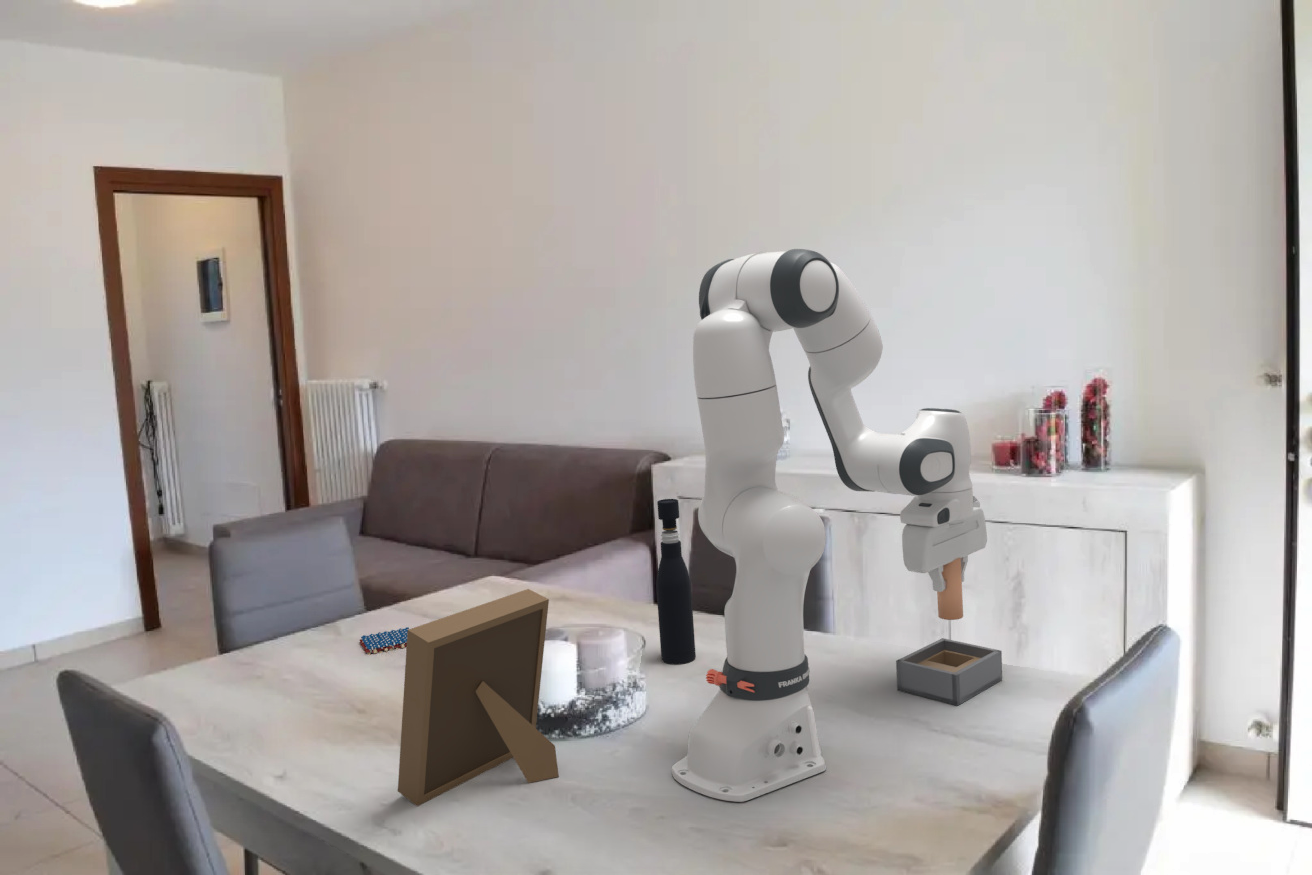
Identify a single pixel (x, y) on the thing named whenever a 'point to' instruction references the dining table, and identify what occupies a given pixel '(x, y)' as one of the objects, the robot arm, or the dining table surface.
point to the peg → (951, 592)
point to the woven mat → (384, 641)
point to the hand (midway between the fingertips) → (948, 586)
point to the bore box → (949, 671)
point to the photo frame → (474, 697)
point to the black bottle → (674, 592)
